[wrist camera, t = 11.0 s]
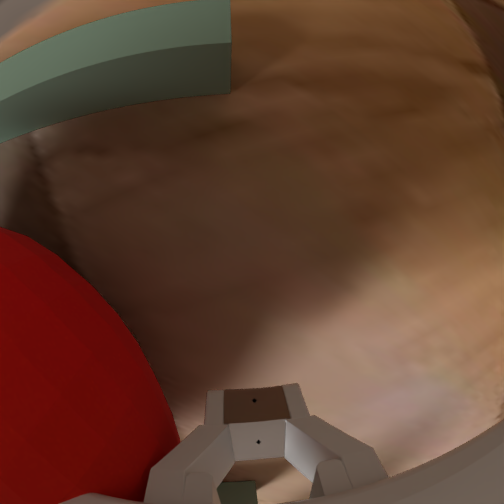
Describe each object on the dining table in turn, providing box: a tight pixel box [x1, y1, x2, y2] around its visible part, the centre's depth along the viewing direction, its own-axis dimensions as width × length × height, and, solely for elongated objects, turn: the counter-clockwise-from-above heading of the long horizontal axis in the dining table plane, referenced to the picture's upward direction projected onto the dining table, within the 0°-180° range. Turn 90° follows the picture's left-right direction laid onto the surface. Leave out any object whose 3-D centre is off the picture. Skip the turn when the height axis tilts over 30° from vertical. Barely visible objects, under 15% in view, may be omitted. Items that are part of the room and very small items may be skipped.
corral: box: [0, 0, 258, 504], centre depth 9 cm, size 18×23×4 cm
